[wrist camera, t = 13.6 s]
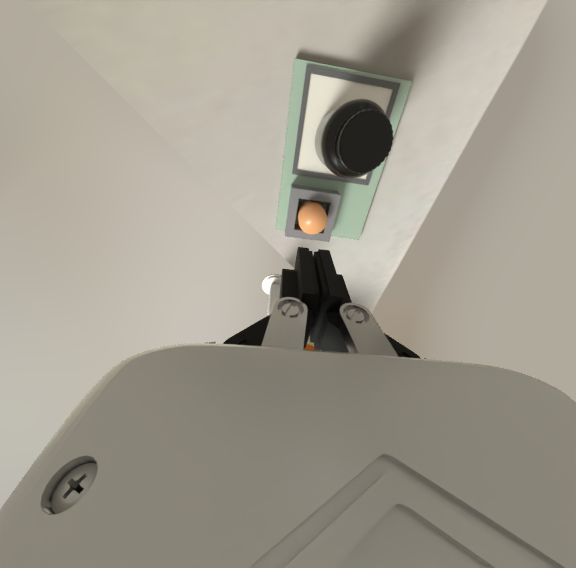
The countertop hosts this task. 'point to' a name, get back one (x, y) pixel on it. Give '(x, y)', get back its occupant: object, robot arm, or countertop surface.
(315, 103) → the mint green tray
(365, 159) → the supplement bottle
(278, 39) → the countertop surface
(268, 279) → the screw
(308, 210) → the button
